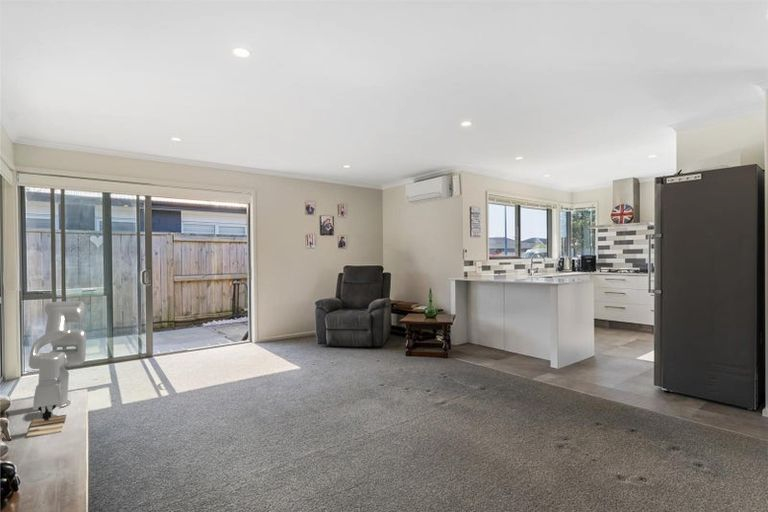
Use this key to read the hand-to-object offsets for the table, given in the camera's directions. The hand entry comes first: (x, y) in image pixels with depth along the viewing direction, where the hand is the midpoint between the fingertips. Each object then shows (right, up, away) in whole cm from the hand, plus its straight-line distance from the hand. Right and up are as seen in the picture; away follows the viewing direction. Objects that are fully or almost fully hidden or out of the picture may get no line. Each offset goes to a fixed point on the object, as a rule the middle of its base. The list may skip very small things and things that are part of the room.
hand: (46, 419), depth 187 cm
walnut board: (-6, -6, +8) cm, 11 cm away
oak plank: (+1, -5, -2) cm, 6 cm away
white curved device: (-16, -6, +19) cm, 26 cm away
